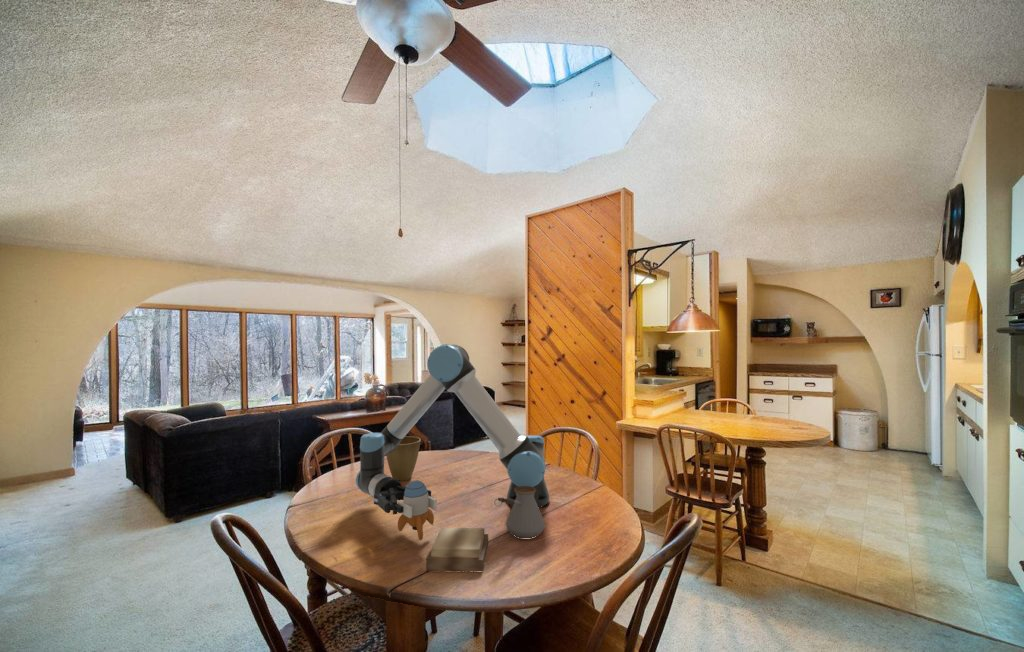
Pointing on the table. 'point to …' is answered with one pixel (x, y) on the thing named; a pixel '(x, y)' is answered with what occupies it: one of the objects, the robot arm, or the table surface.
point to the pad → (458, 561)
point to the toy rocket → (416, 507)
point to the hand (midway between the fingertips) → (423, 508)
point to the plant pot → (404, 458)
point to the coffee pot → (524, 514)
